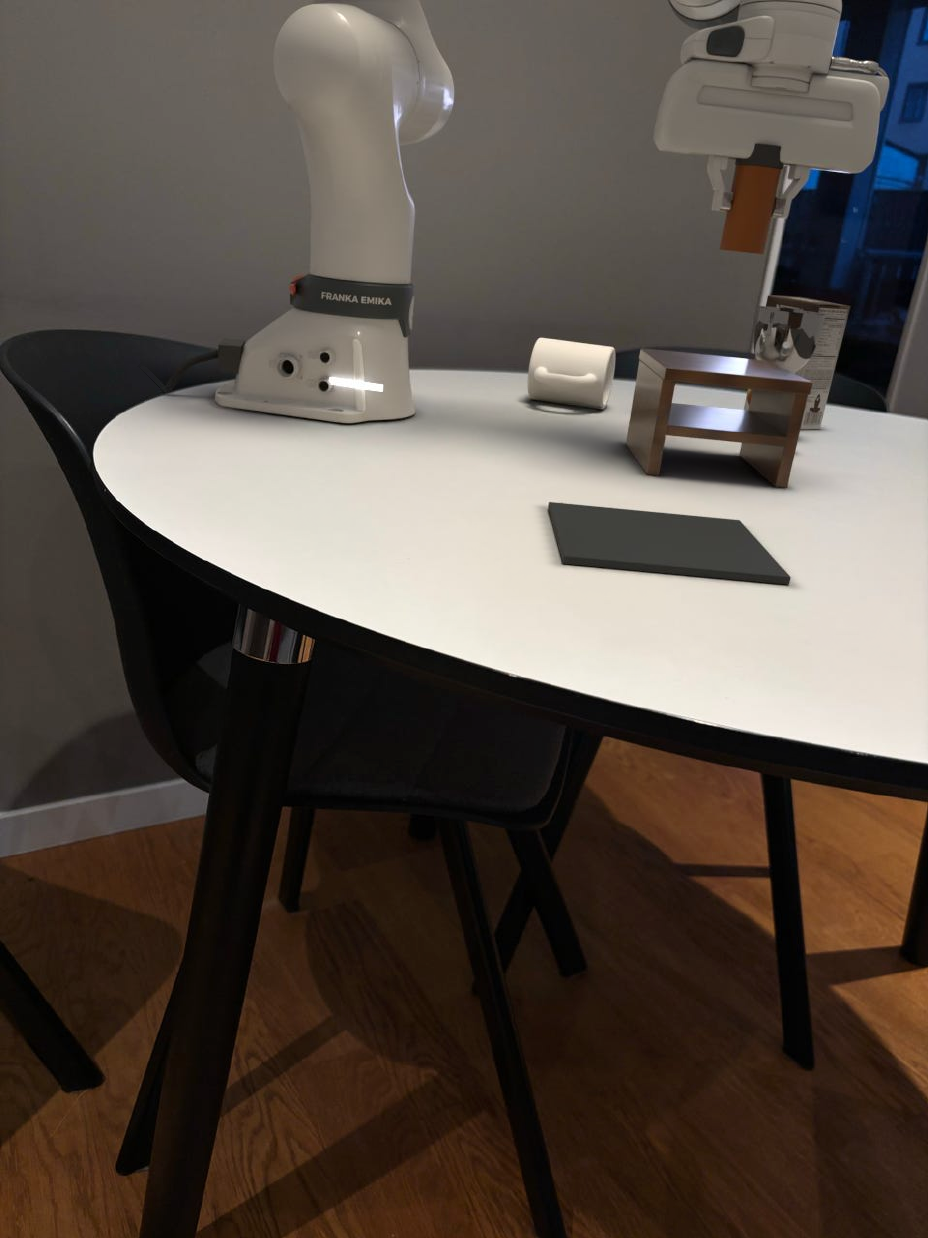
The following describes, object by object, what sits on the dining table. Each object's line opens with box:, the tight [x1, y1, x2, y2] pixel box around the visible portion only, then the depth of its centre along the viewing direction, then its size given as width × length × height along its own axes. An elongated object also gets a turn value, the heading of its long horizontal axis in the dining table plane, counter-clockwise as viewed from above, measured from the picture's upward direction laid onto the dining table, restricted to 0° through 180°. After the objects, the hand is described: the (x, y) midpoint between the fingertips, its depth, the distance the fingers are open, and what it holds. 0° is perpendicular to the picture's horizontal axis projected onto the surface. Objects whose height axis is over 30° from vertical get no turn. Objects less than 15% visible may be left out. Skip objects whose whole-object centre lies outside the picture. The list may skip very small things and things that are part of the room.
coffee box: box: [743, 294, 851, 431], centre depth 130 cm, size 9×6×16 cm
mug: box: [527, 337, 616, 411], centre depth 127 cm, size 12×10×8 cm
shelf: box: [625, 347, 813, 489], centre depth 101 cm, size 14×15×10 cm
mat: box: [547, 501, 792, 586], centre depth 75 cm, size 16×14×1 cm
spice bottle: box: [719, 143, 784, 255], centre depth 93 cm, size 4×4×9 cm
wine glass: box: [752, 305, 825, 374], centre depth 121 cm, size 8×8×15 cm
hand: (748, 214), depth 94 cm, fingers closed on spice bottle, 4 cm apart
